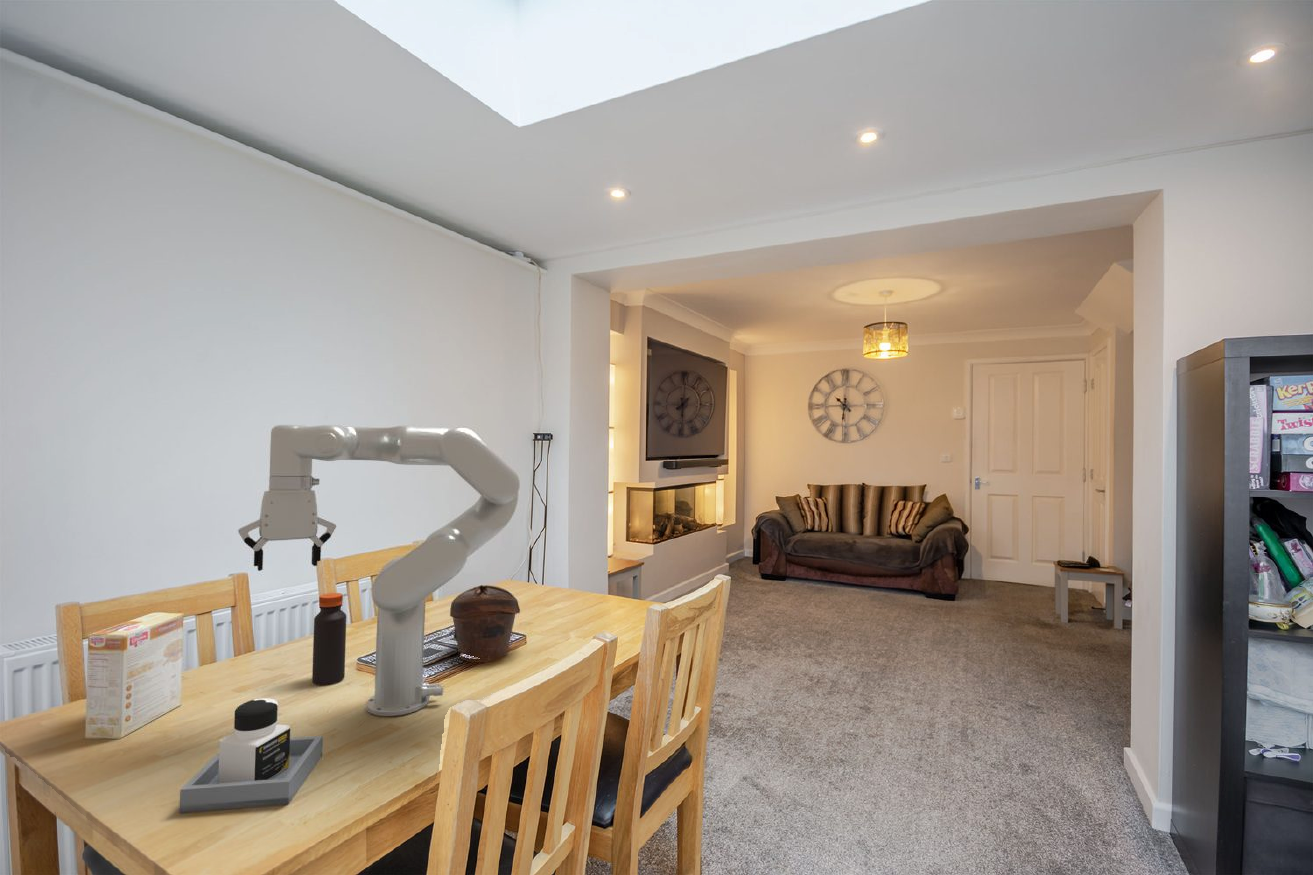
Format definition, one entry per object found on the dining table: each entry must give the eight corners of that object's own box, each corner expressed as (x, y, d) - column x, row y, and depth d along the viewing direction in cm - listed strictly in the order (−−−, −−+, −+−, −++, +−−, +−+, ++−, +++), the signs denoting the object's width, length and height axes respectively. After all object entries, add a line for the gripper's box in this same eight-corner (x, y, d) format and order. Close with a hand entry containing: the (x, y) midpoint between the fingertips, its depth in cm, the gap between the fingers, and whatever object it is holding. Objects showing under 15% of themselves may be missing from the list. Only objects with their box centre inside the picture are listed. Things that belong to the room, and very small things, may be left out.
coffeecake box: (148, 704, 127) (152, 611, 128) (182, 705, 127) (186, 612, 128) (81, 738, 112) (86, 633, 113) (120, 739, 112) (124, 634, 113)
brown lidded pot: (485, 637, 176) (486, 576, 176) (533, 652, 164) (534, 587, 164) (431, 655, 161) (433, 588, 161) (480, 673, 150) (482, 601, 150)
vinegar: (304, 683, 140) (307, 597, 140) (328, 673, 146) (331, 590, 147) (328, 687, 138) (331, 600, 138) (351, 676, 145) (353, 593, 145)
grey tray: (322, 755, 108) (323, 735, 109) (288, 803, 94) (289, 781, 94) (229, 761, 106) (230, 741, 106) (179, 812, 91) (180, 789, 91)
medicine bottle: (254, 790, 95) (257, 714, 96) (216, 784, 97) (219, 709, 97) (290, 767, 102) (292, 696, 103) (254, 762, 104) (256, 692, 104)
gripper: (334, 482, 133) (331, 560, 133) (239, 483, 123) (236, 568, 122) (340, 484, 127) (337, 566, 127) (240, 486, 117) (237, 575, 116)
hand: (287, 567), depth 124 cm, fingers open, 9 cm apart
